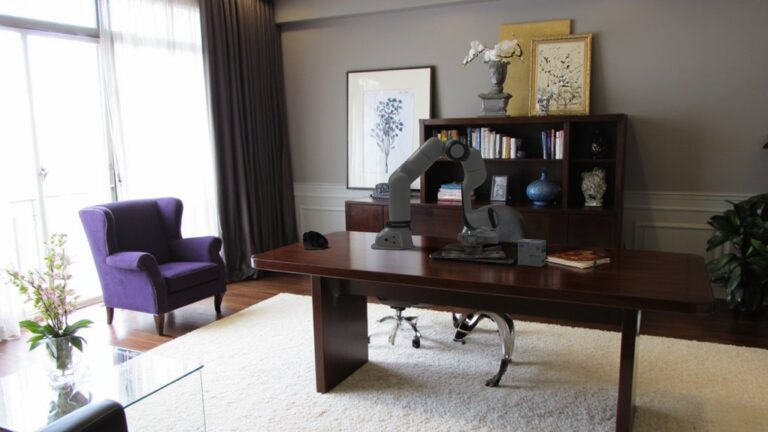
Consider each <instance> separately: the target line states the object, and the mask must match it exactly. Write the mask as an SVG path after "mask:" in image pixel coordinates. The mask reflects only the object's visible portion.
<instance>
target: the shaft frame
mask: <svg viewBox="0 0 768 432" xmlns="http://www.w3.org/2000/svg"><path fill="white" fill-rule="evenodd" d="M502 249H503V248H502V245H497V246H491V247H484V248H483V245H480V244H477V245H468V244H467V245H463V248H462V247H456V246H450V245H445V247H444V250H442V253H441V257H442V256H444V257H465V256H466V257H467V256H469V257H471V256H476V257H479V256H480V257H503V256H505V257H506V253H505V251H503V250H502Z"/></svg>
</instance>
